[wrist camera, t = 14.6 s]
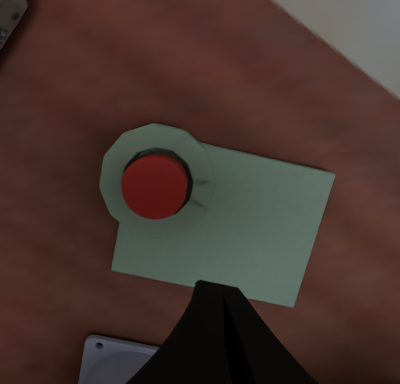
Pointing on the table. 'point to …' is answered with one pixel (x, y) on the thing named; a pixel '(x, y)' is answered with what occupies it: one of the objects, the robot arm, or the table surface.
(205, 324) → the robot arm
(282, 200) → the drain block
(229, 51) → the table surface
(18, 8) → the camera
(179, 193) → the button
